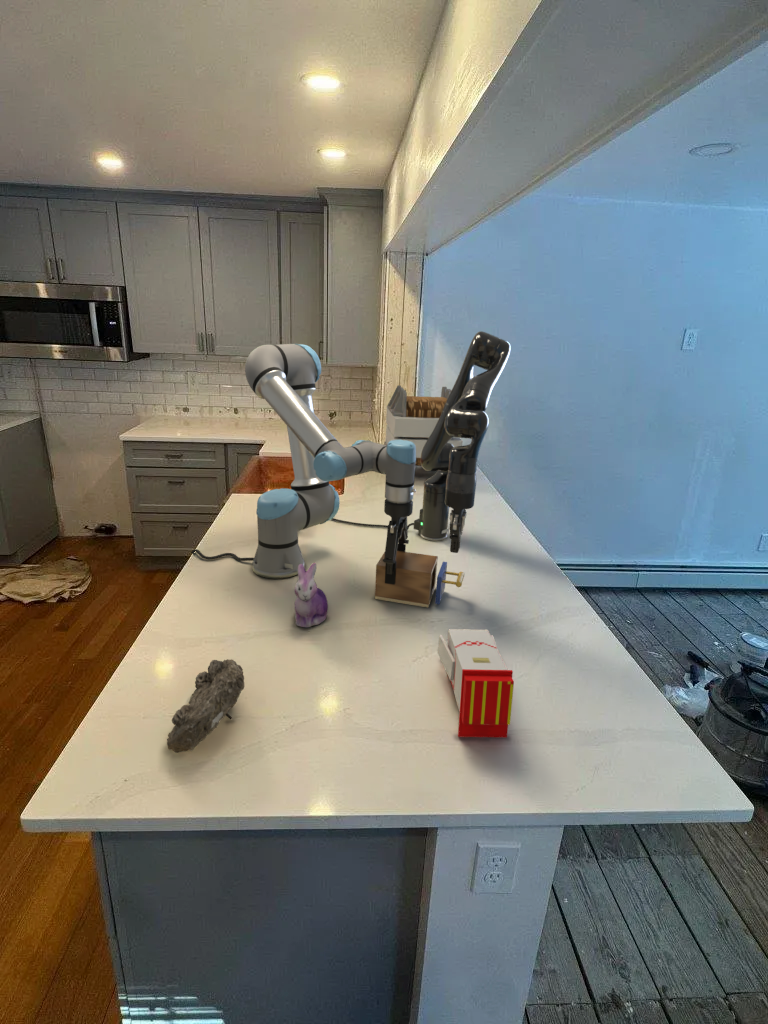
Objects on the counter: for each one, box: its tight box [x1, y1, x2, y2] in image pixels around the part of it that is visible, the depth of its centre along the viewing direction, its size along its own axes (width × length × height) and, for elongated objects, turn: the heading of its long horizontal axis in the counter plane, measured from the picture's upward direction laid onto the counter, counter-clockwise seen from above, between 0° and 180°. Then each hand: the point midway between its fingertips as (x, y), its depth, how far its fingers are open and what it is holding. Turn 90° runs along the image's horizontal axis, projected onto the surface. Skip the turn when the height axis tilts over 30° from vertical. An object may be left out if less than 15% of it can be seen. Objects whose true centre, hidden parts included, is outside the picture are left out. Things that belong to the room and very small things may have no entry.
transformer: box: [383, 384, 464, 467], centre depth 268 cm, size 34×33×41 cm
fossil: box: [166, 658, 245, 754], centre depth 106 cm, size 22×10×15 cm
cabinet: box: [374, 551, 439, 608], centre depth 156 cm, size 15×11×10 cm
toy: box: [437, 628, 515, 738], centre depth 117 cm, size 12×13×30 cm
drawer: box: [430, 561, 465, 605], centre depth 155 cm, size 19×10×8 cm, turn 76°
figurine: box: [293, 562, 329, 628], centre depth 140 cm, size 9×10×15 cm
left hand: (394, 574), depth 157 cm, fingers closed on cabinet, 11 cm apart
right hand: (454, 549), depth 150 cm, fingers closed
